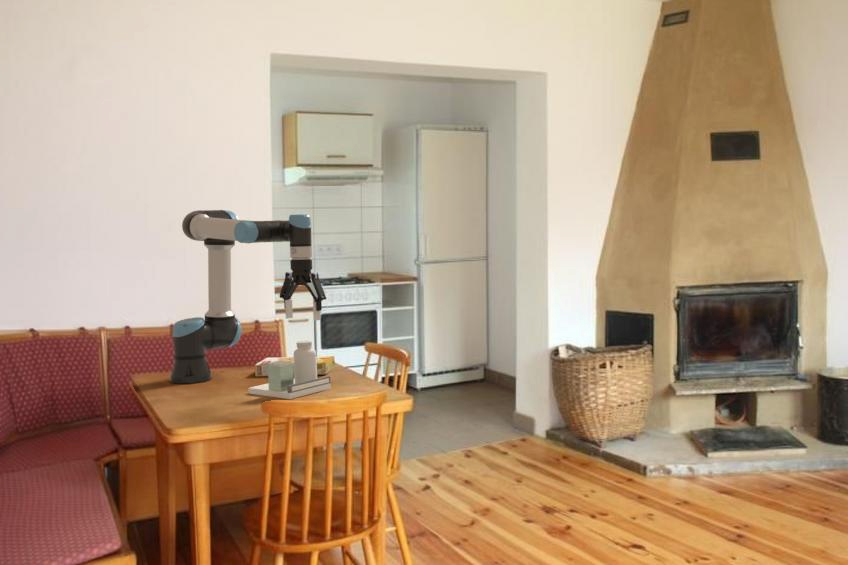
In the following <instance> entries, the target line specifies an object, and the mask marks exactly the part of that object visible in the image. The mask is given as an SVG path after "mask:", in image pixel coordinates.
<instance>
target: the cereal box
mask: <svg viewBox="0 0 848 565" xmlns="http://www.w3.org/2000/svg"><path fill="white" fill-rule="evenodd" d="M316 359H317V376H318V375H321V376H322V375H327V374H328V373H329V372H331V371H332V370H334V368H335V365H336V364H335V361H336V360H335V355H330V356H329V355H328V356H325V355H324V356H316ZM280 360H282V361H292V362H293V376H294V356H293V357H292V356H291V357H289V356H288V357H286V356H284V357H283V356H282V357H266V358H264V359H262V360H261V361H259V362H257V363H256V364H254V374H255V377H268V365H267V363H270V362H275V361H280Z"/></svg>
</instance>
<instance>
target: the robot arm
mask: <svg viewBox="0 0 848 565" xmlns="http://www.w3.org/2000/svg"><path fill="white" fill-rule="evenodd" d="M311 220H312V219H311V216H310V215H309V214H307V213H306V214H301V213H300V214H290V215H288V220H280V219H278V220H242V219H239V217H238V216H237V214H236V213H235V212H233V211H231V210H225V209H224V210H223V209H211V210H208V209H207V210H206V209H205V210H204V209H203V210H199V209H198V210H194V211H191V212H189V213H188V214H186V216H184V217H183V219H182V225H181V228H182V231H183V234H184V235H185V236H186V237H187V238H188V239H190V240H191V241H192V240H193V241H196V242H197V241H199V242H203V245H204V247H206V249H207V251H208V252H207V254H208V255H207V259H208V260H207V264H208V265H207V268H208V270H207V275H208V276H207V278H208V286H207V288H208V291H207V292H208V293H207V294H208V310H207V311H206V312H205V313H204V318H203V317H201V316H199V317H197V316H196V317H191V318H190V317H189V318H185V319H181V320H178V321H175V323H174V324H173V325H172V338H173V339H172V340H173V357H174V362H173V364H172V365H173V366H172V368H171V369H172V370H171V374H170V376H169V377H170V383H172V384H195V383H196V384H197V383H202V382H203V383H204V382H207V381H210V380H212V371H211V369H210V366H209V364H208V361H207V358H206V357H207V356H206V355H207V354H206V351H210V350H211V351H212V350H216V349H227V348H229V347H230V348H231V347H233V346H236V345H237V343H238V342H239V341H240V339H241V337H242V336H241V335H242V324H241V323H240V322H241V321H240V320H239V319H238V318H237V317H236V313H235V312H234V311H233V310H232V260H231V259H232V256H231V255H232V252H231V251H232V248H233V247H235V245H236V244H235V243H236V242H238V243H241V244H255V243H258V244H259V243H281V242H282V243H283V242H285V243H287V242H289V254H290V255H289V257H290V258H291V260H290V270H291V271H286V272H285V275H284V280H283V282H282V283H283V284H282V285H281V289H280V293H279V298H280V299H282V300H283V301H284V302H283V303H284V305H283V306H284V308H283V309H285V319H293V318H294V317H293V315H294V314H293V312H294V311H293V299H292V297H293V295H294V293H295V291H296V290H297V288H298V287H299V286H304V287H306V289H307V290H308V292H309V294H310V295H311V297H312V298H313V303H312V304H313V309H312V310H313V321H315V322H316V321H321V318H322V317H321V316H322V315H321V311H322V310H323V309H322V308H323V305H322V302H323V301H325V300H326V299H327V297H326V294H325V290H324V288H323V286H322V284H321V280H320V277H319V276H320V275H319V272H312V269H313V259H312V257H313V251H312V250H313V249H312V248H313V247H312V222H311Z"/></svg>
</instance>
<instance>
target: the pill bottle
mask: <svg viewBox="0 0 848 565" xmlns="http://www.w3.org/2000/svg"><path fill="white" fill-rule="evenodd" d="M296 348H297V349H295V350H294V351H293V357H294V375H293V378H294V379H295V384H297V383H301V382H306V381H310V380H314V379H318V375H317V359H316V357H317V351H316V349H314V348H313V342H312V340H298V341H296Z"/></svg>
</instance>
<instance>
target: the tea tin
mask: <svg viewBox="0 0 848 565" xmlns="http://www.w3.org/2000/svg"><path fill="white" fill-rule="evenodd" d="M267 365H268V376H267V378H268V383H269V390H275V391H285V390H287V386H289V385H293V384H294V379H295V378H294V375H293V362H292V361H282V360H280V361H275V362H270V363H267Z"/></svg>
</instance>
